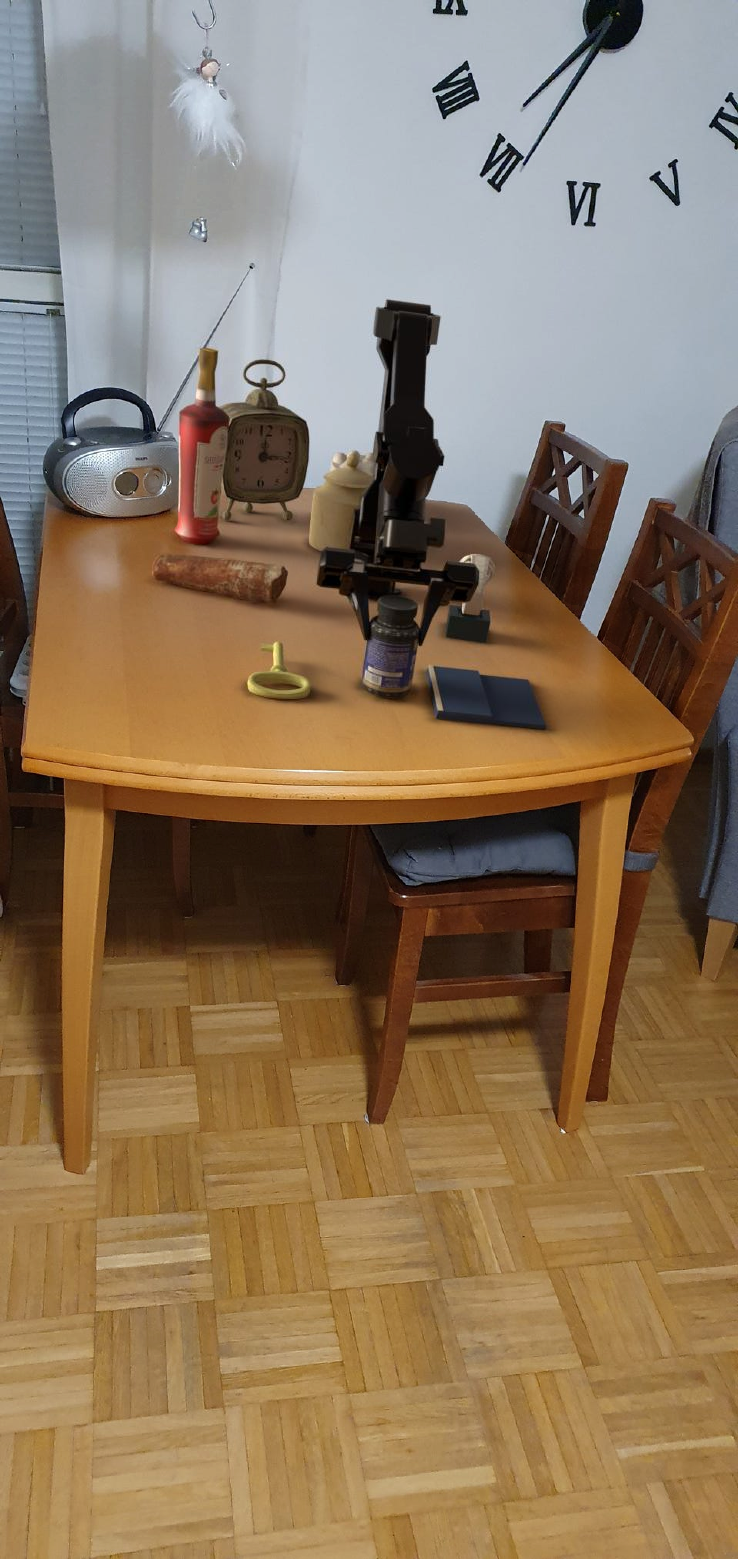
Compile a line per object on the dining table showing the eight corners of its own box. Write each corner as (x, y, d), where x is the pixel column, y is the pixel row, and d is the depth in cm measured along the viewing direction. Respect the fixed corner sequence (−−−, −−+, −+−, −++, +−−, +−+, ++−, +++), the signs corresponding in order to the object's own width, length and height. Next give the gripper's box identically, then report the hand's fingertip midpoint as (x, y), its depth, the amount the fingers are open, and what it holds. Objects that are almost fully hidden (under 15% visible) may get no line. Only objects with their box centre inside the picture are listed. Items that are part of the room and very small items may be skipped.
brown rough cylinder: (276, 613, 161) (279, 573, 158) (144, 584, 164) (146, 545, 161) (290, 598, 166) (294, 560, 163) (163, 571, 169) (165, 532, 167)
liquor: (195, 529, 188) (207, 343, 174) (230, 542, 184) (245, 353, 171) (162, 537, 182) (171, 345, 169) (198, 550, 179) (210, 356, 165)
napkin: (426, 673, 149) (427, 664, 149) (527, 683, 151) (529, 675, 150) (435, 718, 138) (437, 709, 137) (545, 729, 139) (547, 720, 139)
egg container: (324, 510, 205) (330, 460, 201) (328, 490, 217) (333, 442, 212) (384, 518, 206) (391, 468, 202) (385, 498, 217) (391, 450, 213)
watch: (485, 626, 167) (499, 550, 161) (486, 647, 160) (501, 569, 154) (445, 620, 167) (458, 544, 161) (445, 641, 160) (459, 563, 154)
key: (279, 655, 148) (281, 639, 147) (315, 699, 138) (317, 682, 137) (224, 658, 145) (225, 642, 144) (256, 702, 136) (258, 685, 135)
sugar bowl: (396, 541, 196) (410, 449, 189) (404, 563, 186) (419, 468, 179) (306, 532, 194) (316, 439, 187) (309, 554, 184) (320, 457, 177)
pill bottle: (417, 699, 142) (432, 612, 136) (369, 700, 140) (381, 612, 134) (400, 676, 147) (414, 592, 141) (353, 677, 145) (365, 592, 139)
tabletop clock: (217, 524, 191) (229, 363, 179) (201, 507, 198) (211, 350, 186) (301, 524, 197) (318, 368, 185) (283, 507, 204) (297, 355, 192)
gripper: (329, 478, 135) (319, 605, 130) (491, 497, 136) (486, 624, 132) (321, 524, 145) (311, 643, 141) (471, 541, 147) (466, 659, 143)
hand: (393, 642), depth 139 cm, fingers closed on pill bottle, 6 cm apart
